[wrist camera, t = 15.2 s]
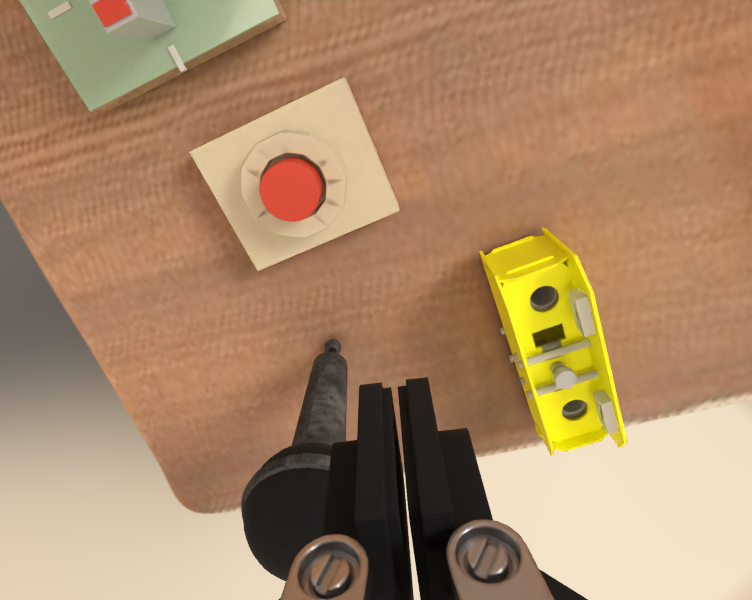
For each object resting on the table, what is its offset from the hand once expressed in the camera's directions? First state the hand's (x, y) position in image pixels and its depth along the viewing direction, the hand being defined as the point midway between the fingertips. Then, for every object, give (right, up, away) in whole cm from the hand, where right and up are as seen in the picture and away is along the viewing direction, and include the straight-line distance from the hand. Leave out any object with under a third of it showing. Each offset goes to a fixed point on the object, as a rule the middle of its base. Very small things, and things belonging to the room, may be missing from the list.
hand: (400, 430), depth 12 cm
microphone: (-4, 0, +28) cm, 28 cm away
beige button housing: (-6, +12, +22) cm, 26 cm away
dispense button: (-6, +10, +19) cm, 22 cm away
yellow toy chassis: (+12, +1, +27) cm, 30 cm away
